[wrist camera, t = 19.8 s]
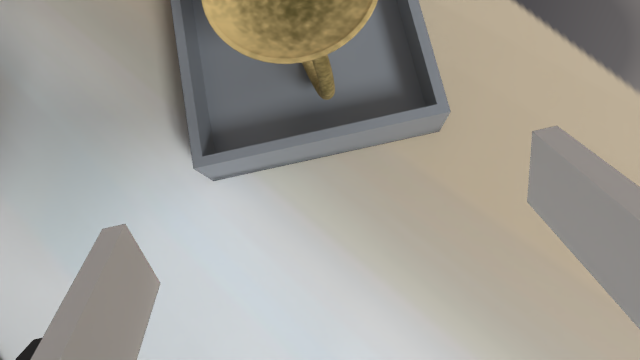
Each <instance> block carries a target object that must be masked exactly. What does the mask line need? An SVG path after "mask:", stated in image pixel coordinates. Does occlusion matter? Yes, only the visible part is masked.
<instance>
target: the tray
mask: <svg viewBox="0 0 640 360" xmlns="http://www.w3.org/2000/svg"><path fill="white" fill-rule="evenodd" d="M171 7H172V15H173V22H174V29H175V37H176V44H177V51H178V59H179V66H180V73H181V81H182V88H183V95H184V103H185V110H186V117H187V125H188V132H189V139H190V147H191V154H192V161H193V169H195V170H197V171H198V172H200V173H201V174H203V175H205V176H206V177H208V178H210V179H211V180H213V181H216V180H220V179H225V178H229V177H234V176H239V175H243V174H248V173H252V172H257V171H261V170H266V169H270V168H275V167H280V166H284V165H289V164H293V163H298V162H302V161H307V160H311V159H316V158H321V157H325V156H330V155H334V154H339V153H343V152H348V151H352V150H357V149H362V148H366V147H371V146H375V145H380V144H384V143H389V142H393V141H398V140H403V139H407V138H412V137H416V136H421V135H425V134H430V133H434V132H439V131H440V129H441V128H442V126H443V124H444V122H445V121H446V119H447V117H448V115H449V114H450V108H449V105H448V101H447V98H446V94H445V91H444V87H443V84H442V80H441V77H440V73H439V70H438V67H437V63H436V60H435V56H434V53H433V49H432V46H431V42H430V39H429V35H428V32H427V28H426V25H425V22H424V18H423V15H422V11H421V8H420V4H419V1H418V0H378V1H377V4H376V7H375V9H374V11H373V13H372V15H371V17H370V18H369V20H368V21H367V22H366V24H365V25H364V27H363V28H362V29H361V30H360V31H359V32H358V33H357V35H356V36H354V37H353V38H352V39H351V40H350V41H349V42H347V43H346V44H345V45H343V46H342V47H340V48H339V49H337V50H336V51H334V52H332V53H330V54H328V57H329V61H330V64H331V68H332V73H333V77H334V84H335V93H334V96H333V97H332V98H331V99H329V100H325V99H322V98H321V97H320V96H319V95H318V93H317V92H316V90H315V88H314V87H313V85H312V83H311V81H310V79H309V77H308V75H307V73H306V71H305V69H304V67H303V64H302V63H293V64H275V63H268V62H263V61H259V60H256V59H253V58H250V57H248V56H245V55H243V54H241V53H240V52H238V51H236V50H235V49H233V48H231V47H230V46H229V45H228V44H226V43H225V42H224V41H223V40H222V39H221V38H220V37H219V36H218V35H217V34H216V32H215V31H214V29H213V28H212V27H211V25H210V23H209V21H208V19H207V17H206V15H205V12H204V9H203V6H202V1H201V0H171Z"/></svg>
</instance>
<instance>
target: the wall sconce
mask: <svg viewBox="0 0 640 360" xmlns="http://www.w3.org/2000/svg"><path fill="white" fill-rule="evenodd" d="M201 1H202V6H203V9H204V12H205V15H206V17H207V19H208V21H209V23H210V25H211V27H212V28H213V29H214V31H215V32H216V34H217V35H218V36H219V37H220V38H221V39H222V40H223V41H224V42H225V43H226V44H228V45H229V46H230V47H231V48H233V49H235V50H236V51H238V52H240V53H241V54H243V55H245V56H248V57H250V58H253V59H256V60H259V61H263V62H268V63H275V64H293V63H302V64H303V67H304V69H305V71H306V73H307V75H308V77H309V79H310V81H311V83H312V85H313V87H314V88H315V90H316V92H317V93H318V95H319V96H320V97H321V98H322V99H325V100H329V99H331V98H332V97H333V96H334V93H335V84H334V77H333V73H332V68H331V64H330V61H329V57H328V54H330V53H332V52H334V51H336V50H337V49H339V48H340V47H342V46H343V45H345V44H346V43H347V42H349V41H350V40H351V39H352V38H353V37H354V36H356V35H357V33H358V32H359V31H360V30H361V29H362V28H363V27H364V25H365V24H366V22H367V21H368V20H369V18H370V17H371V15H372V13H373V11H374V9H375V7H376V4H377V1H378V0H201Z"/></svg>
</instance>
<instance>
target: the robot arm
mask: <svg viewBox="0 0 640 360" xmlns="http://www.w3.org/2000/svg"><path fill="white" fill-rule="evenodd" d="M527 202H528V203H529V204H530V206H531V207H532V208H533V209H534V210H535V211H536V212H537V214H538V215H539V216H540V217H541V218H542V219H543V220H544V221H545V223H546V224H547V225H548V226H549V227H550V228H551V229H552V231H553V232H554V233H555V234H556V235H557V236H558V237H559V238H560V240H561V241H562V242H563V243H564V244H565V245H566V246H567V247H568V249H569V250H570V251H571V252H572V253H573V254H574V255H575V257H576V258H577V259H578V260H579V261H580V262H581V263H582V264H583V266H584V267H585V268H586V269H587V270H588V271H589V272H590V273H591V275H592V276H593V277H594V278H595V279H596V280H597V281H598V283H599V284H600V285H601V286H602V287H603V288H604V289H605V290H606V292H607V293H608V294H609V295H610V296H611V297H612V298H613V300H614V301H615V302H616V303H617V304H618V305H619V306H620V307H621V309H622V310H623V311H624V312H625V313H626V314H627V315H628V316H629V318H630V319H631V320H632V321H633V322H634V323H635V324H636V326H637V327H638V328H639V329H640V187H639V186H638V185H636V184H635V183H634V182H632V181H631V180H630V179H628V178H627V177H625V176H624V175H623V174H621V173H620V172H619V171H617V170H616V169H615V168H613V167H612V166H611V165H609V164H608V163H607V162H605V161H604V160H603V159H601V158H600V157H599V156H597V155H596V154H594V153H593V152H592V151H590V150H589V149H588V148H586V147H585V146H584V145H582V144H581V143H580V142H578V141H577V140H576V139H574V138H573V137H572V136H570V135H569V134H568V133H566V132H565V131H563V130H562V129H561V128H559V127H558V126H553V127H549V128H545V129H540V130H536V131H532V143H531V157H530V170H529V184H528V198H527ZM159 286H160V282H159V280H158V278H157V277H156V275H155V273H154V271H153V270H152V268H151V266H150V265H149V263H148V261H147V260H146V258H145V256H144V255H143V253H142V251H141V249H140V248H139V246H138V244H137V243H136V241H135V239H134V238H133V236H132V234H131V233H130V231H129V229H128V227H127V226H126V224H122V225H118V226H113V227H109V228H105V229H102V231H101V232H100V234H99V236H98V238H97V240H96V242H95V243H94V245H93V247H92V249H91V251H90V252H89V254H88V256H87V258H86V260H85V262H84V263H83V265H82V267H81V269H80V271H79V272H78V274H77V276H76V278H75V280H74V281H73V283H72V285H71V287H70V289H69V291H68V292H67V294H66V296H65V298H64V300H63V301H62V303H61V305H60V307H59V309H58V311H57V312H56V314H55V316H54V318H53V320H52V321H51V323H50V325H49V327H48V329H47V331H46V332H45V334H44V336H43V338H39V339H35V340H33V341H32V342H31V343H30V344H29V345H28V346H27V347H26V349H25V350H24V351H23V352H22V353H21V354H20V355H19V356H18V357H17V358H16V360H137V357H138V354H139V351H140V347H141V344H142V341H143V338H144V334H145V331H146V328H147V325H148V322H149V318H150V315H151V312H152V309H153V305H154V302H155V299H156V296H157V293H158V289H159Z"/></svg>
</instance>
